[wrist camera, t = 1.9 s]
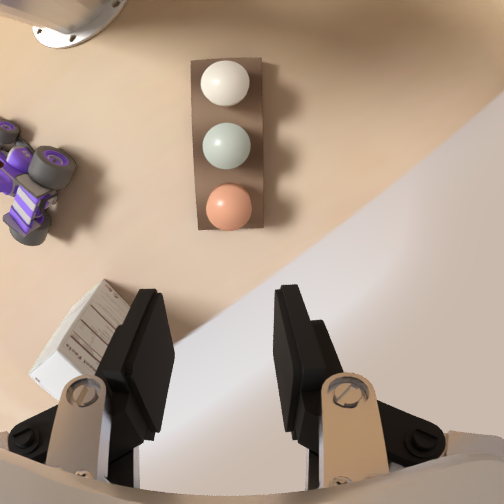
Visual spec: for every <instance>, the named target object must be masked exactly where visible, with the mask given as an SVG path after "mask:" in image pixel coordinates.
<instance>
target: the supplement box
mask: <svg viewBox="0 0 504 504" xmlns="http://www.w3.org/2000/svg"><path fill="white" fill-rule="evenodd" d="M129 309H130V306H129V305H128V304H127V302H126V301H125V300H124V299H123V298H122V297H121V296H120V295H119V294H118V293H117V292H116V291H115V290H114V289H113V288H112V287H111V286H110V285H109V284H108V283H107V282H106V280H104V279H103V280H102V281H100V282H99V283H98V284H97V285H96V286H94V287H93V288H92V289H91V290H90V291H89V292H88V293H87V294H86V295H84V296H83V297H82V298H81V299H80V300H79V301H78V302H77V303H76V304H75V305H74V306H73V307H72V308H71V310H70V311H69V313H68V314H67V315H66V317H65V318H64V320H63V321H62V323H61V324H60V325H59V327H58V328H57V330H56V331H55V333H54V334H53V336H52V337H51V339H50V340H49V342H48V343H47V345H46V346H45V348H44V349H43V351H42V353H41V354H40V356H39V357H38V359H37V360H36V362H35V364H34V365H33V367H32V369H31V370H30V372H29V376H30V377H31V378H32V379H33V380H34V381H35V382H36V383H38V384H39V385H40V386H41V387H42V388H43V389H44V390H45V391H47V392H48V393H49V394H50V395H51V396H53V397H54V398H55V399H56V400H58V401H60V397H61V393H62V391H63V388H64V386H65V385H66V384H67V383H68V382H69V381H70V380H72V379H73V378H75V377H78V376H80V375H87V374H88V375H95V372H96V370H97V368H98V366H99V364H100V361H101V359H102V357H103V355H104V353H105V351H106V348H107V346H108V344H109V342H110V340H111V338H112V336H113V334H114V332H115V330H116V328H117V327H118V325H122V324H123V322H124V320H125V317H126V315H127V313H128V311H129Z"/></svg>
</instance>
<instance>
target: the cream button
mask: <svg viewBox="0 0 504 504" xmlns="http://www.w3.org/2000/svg"><path fill="white" fill-rule="evenodd" d="M248 88H249V76H248V73H247V71H246V70H245V69H244V68H243V67H242V66H241V65H240V64H238V63H236V62H233V61H226V60H225V61H219V62H216V63H214V64H212V65H210V66H209V67H208V68H207V69H206V70H205V72H204V73H203V75H202V78H201V89H202V91H203V93H204V95H205V96H206V97H207V98H208V99H209V100H210V101H211V102H212V103H214V104H215V105H218V106H223V107H228V106H233V105H235V104H237V103H239V102H240V101H242V100H243V98H244V97H245V96H246V94H247V91H248Z"/></svg>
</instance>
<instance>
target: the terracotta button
mask: <svg viewBox="0 0 504 504" xmlns="http://www.w3.org/2000/svg"><path fill="white" fill-rule="evenodd" d="M251 212H252V206H251V200H250V196H249V194H248V192H247V191H246V190H245V188H243V187H242V186H241V185H239V184H236V183H232V182H227V183H223V184H220V185H218V186H217V187H215V188H214V189H213V191H212V192H211V194H210V196H209V199H208V201H207V205H206V213H207V217H208V219H209V221H210V222H211V223H212V224H213V225H214V226H215V227H217V228H218V229H221V230H225V231H233V230H237V229H239V228H241V227H243V226H244V225H245V224H246V223H247V222H248V220H249V218H250V216H251Z"/></svg>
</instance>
